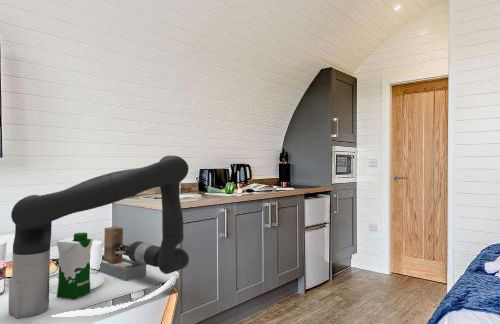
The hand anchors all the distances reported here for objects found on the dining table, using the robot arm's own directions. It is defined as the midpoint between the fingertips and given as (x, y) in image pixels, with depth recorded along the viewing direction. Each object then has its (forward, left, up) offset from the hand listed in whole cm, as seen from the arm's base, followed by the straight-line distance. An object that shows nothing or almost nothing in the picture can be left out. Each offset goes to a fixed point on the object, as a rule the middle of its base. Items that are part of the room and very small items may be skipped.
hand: (117, 246), depth 140 cm
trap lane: (0, 0, -10) cm, 10 cm away
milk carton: (-23, -12, -10) cm, 28 cm away
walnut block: (0, +2, -7) cm, 7 cm away
